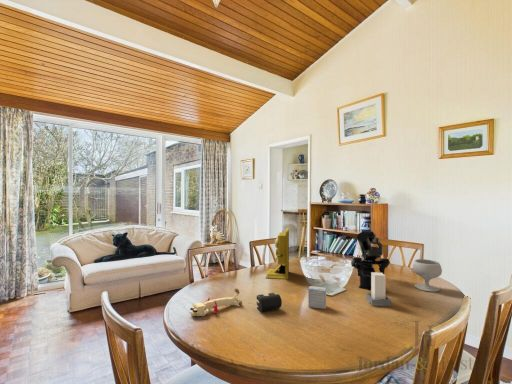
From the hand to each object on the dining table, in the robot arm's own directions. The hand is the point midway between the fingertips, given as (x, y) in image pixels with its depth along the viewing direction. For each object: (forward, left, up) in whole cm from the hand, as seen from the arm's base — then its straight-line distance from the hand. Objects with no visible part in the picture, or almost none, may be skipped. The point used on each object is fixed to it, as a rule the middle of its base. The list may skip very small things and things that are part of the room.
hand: (374, 277), depth 143 cm
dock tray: (+4, -6, -10) cm, 12 cm away
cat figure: (-49, -64, -11) cm, 81 cm away
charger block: (+4, -6, -9) cm, 11 cm away
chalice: (+18, +33, -10) cm, 39 cm away
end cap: (-31, -48, -11) cm, 58 cm away
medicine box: (-16, -30, -10) cm, 35 cm away
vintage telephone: (-60, -2, -10) cm, 61 cm away
